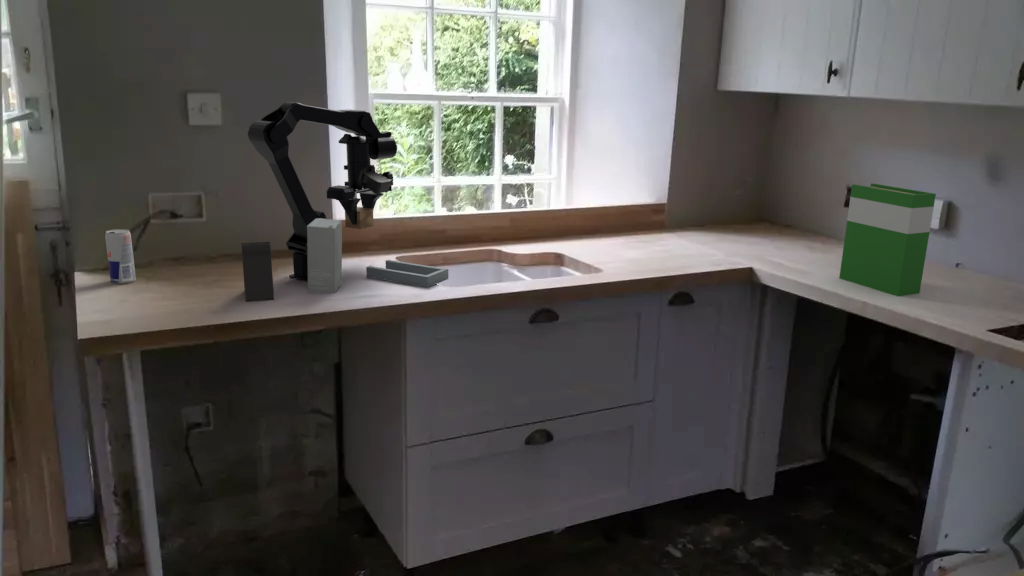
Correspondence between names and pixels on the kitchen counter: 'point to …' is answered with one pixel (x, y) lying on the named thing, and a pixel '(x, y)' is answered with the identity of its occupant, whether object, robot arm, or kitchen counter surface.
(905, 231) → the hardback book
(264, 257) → the dark grey upright block
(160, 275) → the kitchen counter surface
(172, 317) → the kitchen counter surface
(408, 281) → the slate channel
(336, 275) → the skincare box
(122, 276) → the energy drink
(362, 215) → the walnut block
